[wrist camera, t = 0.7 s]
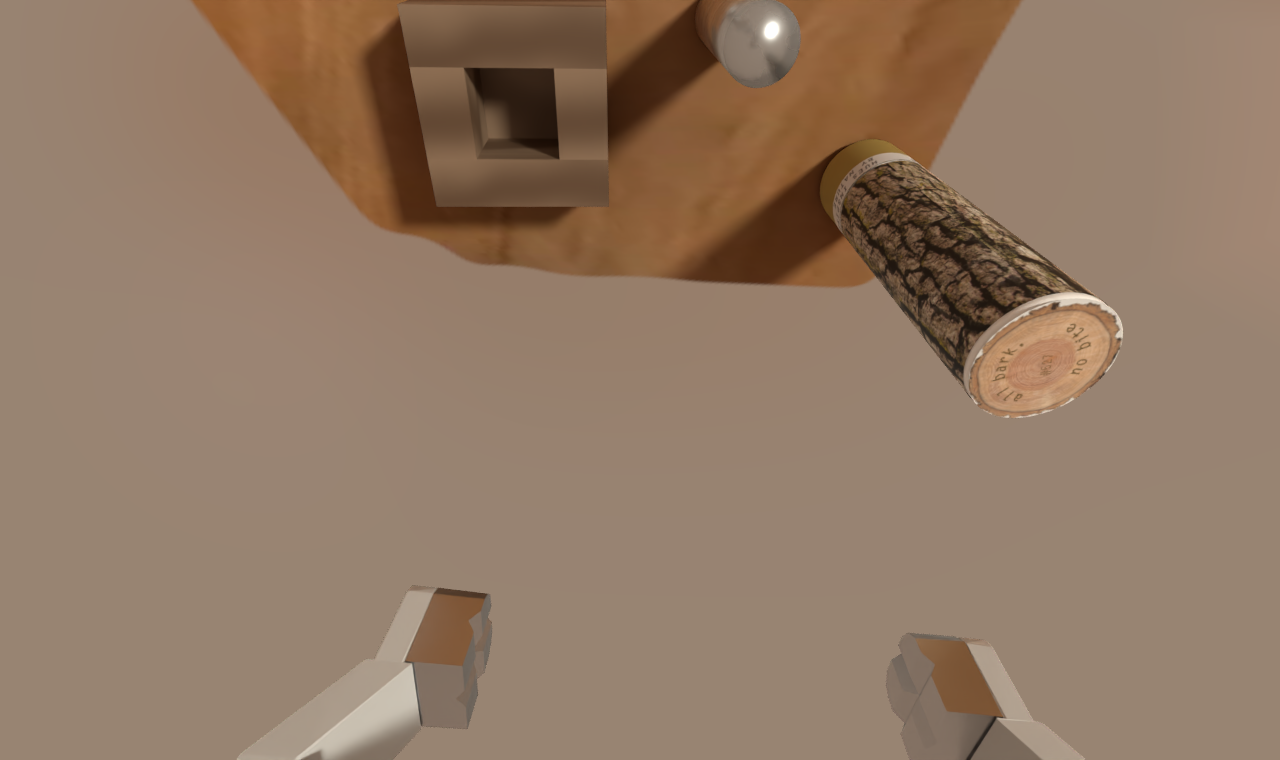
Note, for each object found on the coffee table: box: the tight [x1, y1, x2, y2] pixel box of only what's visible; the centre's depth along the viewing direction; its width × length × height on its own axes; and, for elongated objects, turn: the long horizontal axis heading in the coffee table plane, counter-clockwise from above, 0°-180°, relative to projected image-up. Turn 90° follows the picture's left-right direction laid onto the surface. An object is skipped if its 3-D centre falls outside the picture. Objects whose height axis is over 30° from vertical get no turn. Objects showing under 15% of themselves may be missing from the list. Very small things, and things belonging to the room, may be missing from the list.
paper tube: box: [820, 139, 1123, 418], centre depth 37 cm, size 7×7×25 cm
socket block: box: [397, 0, 609, 207], centre depth 40 cm, size 12×12×6 cm
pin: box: [695, 0, 800, 88], centre depth 35 cm, size 4×4×12 cm
